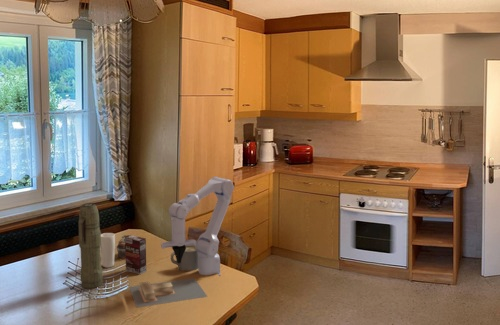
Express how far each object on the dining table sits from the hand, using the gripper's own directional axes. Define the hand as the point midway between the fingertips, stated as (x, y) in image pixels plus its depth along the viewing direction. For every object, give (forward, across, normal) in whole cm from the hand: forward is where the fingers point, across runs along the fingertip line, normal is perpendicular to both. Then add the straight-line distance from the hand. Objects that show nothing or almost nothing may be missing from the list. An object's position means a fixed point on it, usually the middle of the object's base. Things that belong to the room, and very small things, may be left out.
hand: (178, 262), depth 216 cm
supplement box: (+10, -15, +20) cm, 27 cm away
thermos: (+10, -35, +11) cm, 38 cm away
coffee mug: (+10, +7, +16) cm, 20 cm away
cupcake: (+10, -16, +42) cm, 46 cm away
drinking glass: (+10, -26, +31) cm, 42 cm away
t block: (+8, -11, -9) cm, 17 cm away
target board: (+9, -7, -9) cm, 15 cm away
